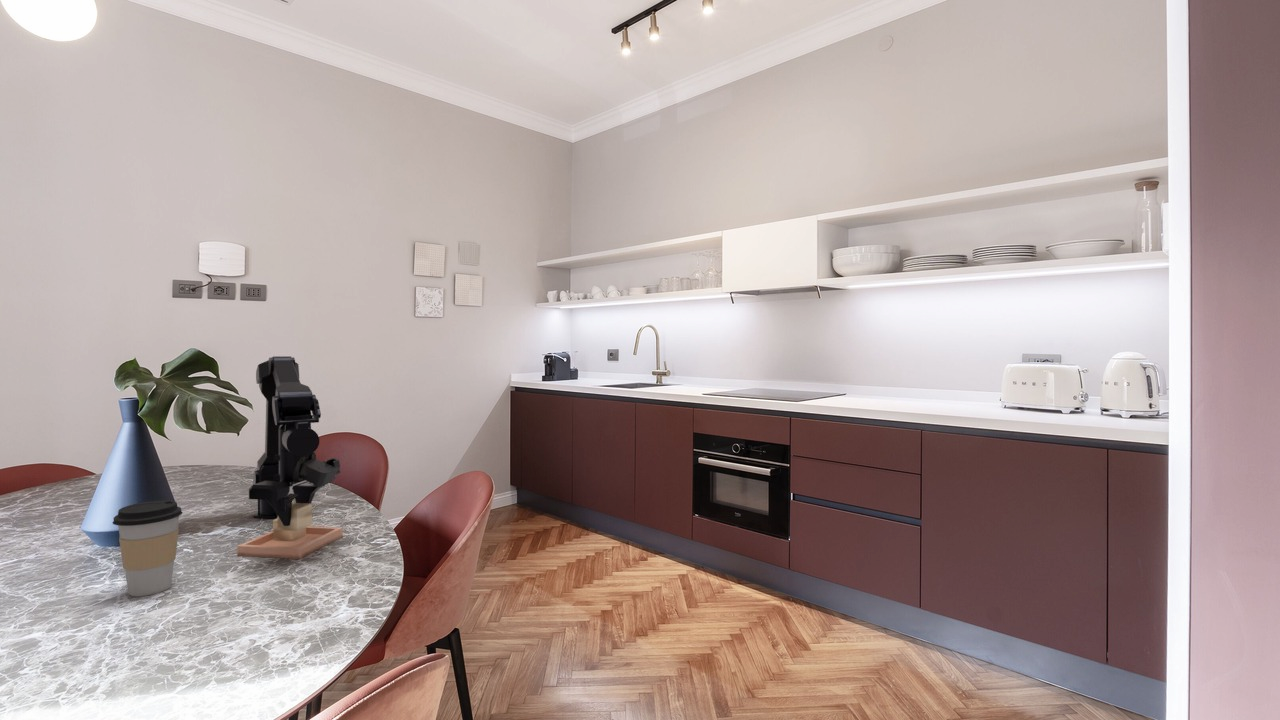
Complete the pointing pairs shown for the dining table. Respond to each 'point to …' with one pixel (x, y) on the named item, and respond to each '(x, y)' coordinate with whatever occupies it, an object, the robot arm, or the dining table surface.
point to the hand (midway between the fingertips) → (295, 522)
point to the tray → (290, 544)
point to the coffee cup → (148, 545)
